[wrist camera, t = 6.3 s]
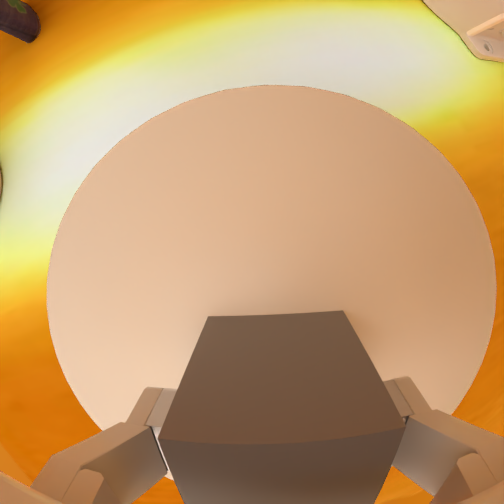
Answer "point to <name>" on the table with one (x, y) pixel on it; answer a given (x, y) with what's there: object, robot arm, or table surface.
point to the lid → (272, 290)
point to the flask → (19, 20)
